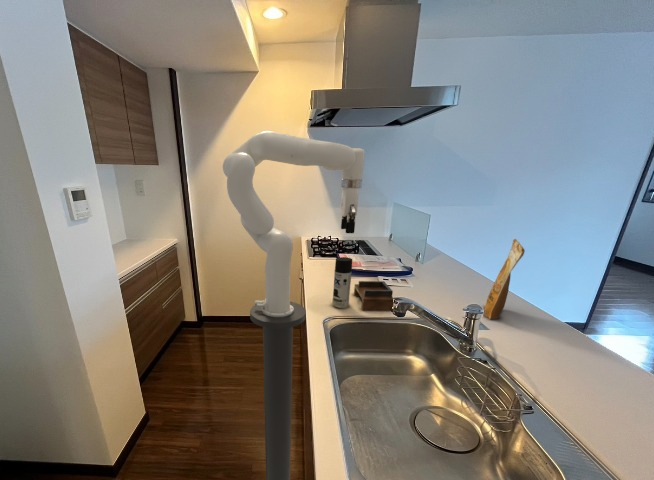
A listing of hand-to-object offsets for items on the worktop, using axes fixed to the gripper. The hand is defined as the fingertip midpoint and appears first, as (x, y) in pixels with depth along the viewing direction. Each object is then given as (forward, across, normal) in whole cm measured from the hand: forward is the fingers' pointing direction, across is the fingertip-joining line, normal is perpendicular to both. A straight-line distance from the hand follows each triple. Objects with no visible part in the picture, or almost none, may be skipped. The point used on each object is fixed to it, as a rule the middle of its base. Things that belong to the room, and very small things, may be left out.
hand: (347, 231), depth 125 cm
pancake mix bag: (+30, +11, +58) cm, 66 cm away
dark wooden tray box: (+30, 0, +13) cm, 33 cm away
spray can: (+31, +4, -1) cm, 31 cm away
